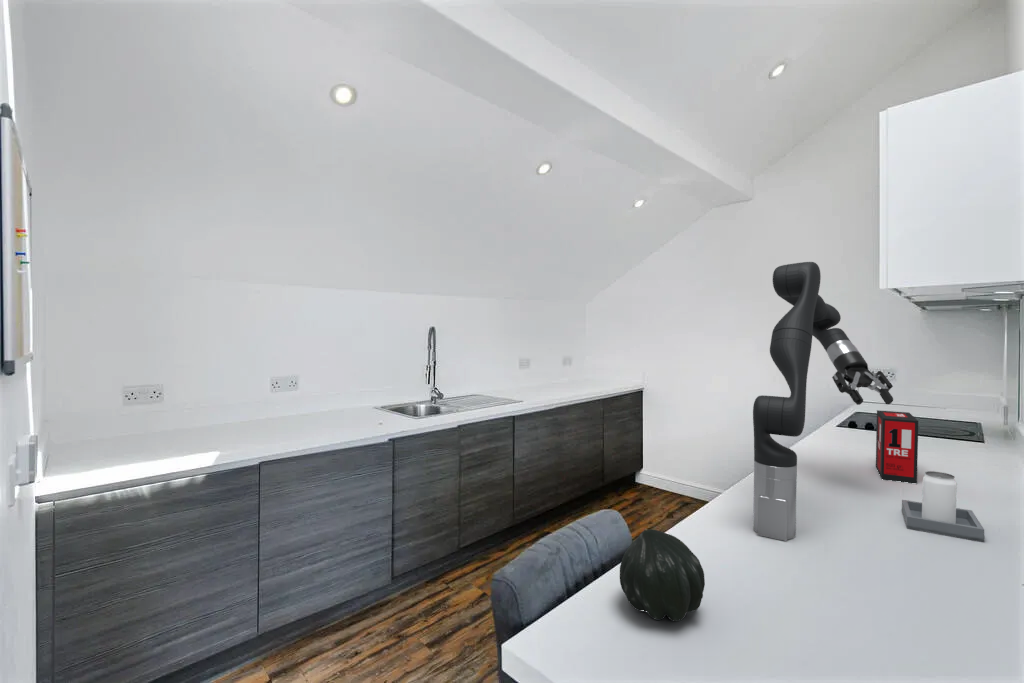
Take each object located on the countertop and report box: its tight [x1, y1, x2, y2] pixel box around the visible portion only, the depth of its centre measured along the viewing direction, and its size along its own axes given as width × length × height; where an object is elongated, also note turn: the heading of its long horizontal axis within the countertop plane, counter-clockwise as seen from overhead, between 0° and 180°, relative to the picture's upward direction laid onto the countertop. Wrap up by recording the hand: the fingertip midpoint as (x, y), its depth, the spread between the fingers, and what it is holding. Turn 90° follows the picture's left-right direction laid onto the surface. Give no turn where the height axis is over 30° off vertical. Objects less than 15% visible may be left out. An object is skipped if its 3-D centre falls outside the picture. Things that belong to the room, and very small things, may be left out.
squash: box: [619, 528, 706, 622], centre depth 89 cm, size 14×15×15 cm
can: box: [921, 470, 958, 523], centre depth 124 cm, size 6×6×12 cm
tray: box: [901, 499, 985, 543], centre depth 124 cm, size 14×14×3 cm
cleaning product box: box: [875, 409, 919, 484], centre depth 164 cm, size 16×9×20 cm, turn 149°
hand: (875, 402), depth 137 cm, fingers open, 8 cm apart
